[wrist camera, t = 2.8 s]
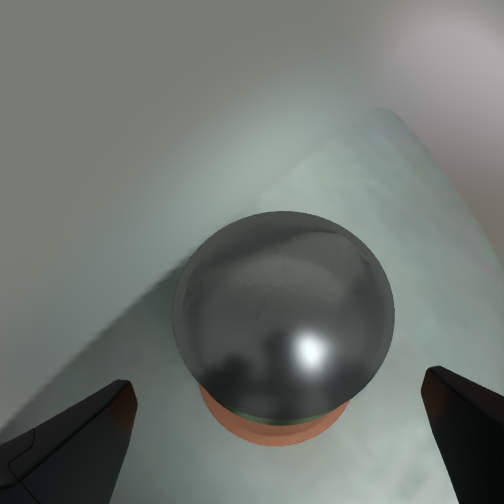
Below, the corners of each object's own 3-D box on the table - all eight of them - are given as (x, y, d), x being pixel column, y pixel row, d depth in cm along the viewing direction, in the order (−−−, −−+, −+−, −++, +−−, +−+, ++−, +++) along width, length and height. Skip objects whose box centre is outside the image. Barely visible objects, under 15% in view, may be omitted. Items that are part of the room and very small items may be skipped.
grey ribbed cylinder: (337, 417, 11) (414, 411, 5) (220, 422, 11) (158, 424, 5) (329, 311, 14) (376, 204, 7) (222, 315, 14) (177, 211, 7)
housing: (344, 438, 15) (371, 445, 10) (209, 444, 15) (186, 452, 11) (335, 315, 19) (355, 280, 14) (211, 320, 19) (192, 286, 15)
